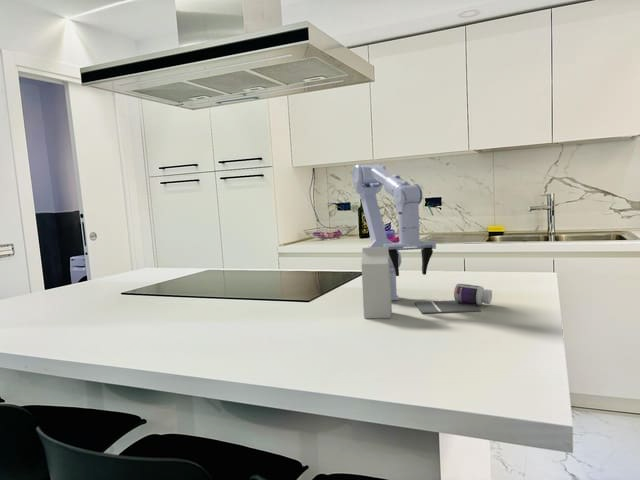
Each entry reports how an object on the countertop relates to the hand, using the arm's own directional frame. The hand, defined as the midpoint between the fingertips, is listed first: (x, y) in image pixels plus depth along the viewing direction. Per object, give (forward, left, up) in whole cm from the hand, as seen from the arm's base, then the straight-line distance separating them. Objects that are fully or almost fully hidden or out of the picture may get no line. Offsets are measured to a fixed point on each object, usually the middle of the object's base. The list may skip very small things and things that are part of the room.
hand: (410, 274), depth 142 cm
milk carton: (-10, -6, -10) cm, 16 cm away
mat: (+10, 0, -10) cm, 14 cm away
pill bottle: (+14, +4, -6) cm, 16 cm away
